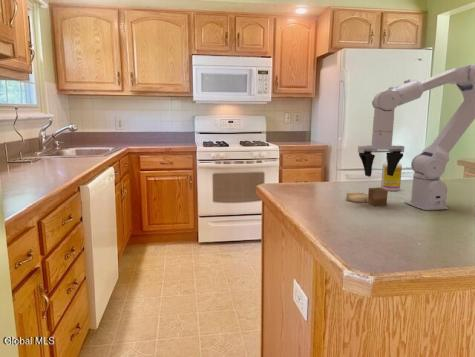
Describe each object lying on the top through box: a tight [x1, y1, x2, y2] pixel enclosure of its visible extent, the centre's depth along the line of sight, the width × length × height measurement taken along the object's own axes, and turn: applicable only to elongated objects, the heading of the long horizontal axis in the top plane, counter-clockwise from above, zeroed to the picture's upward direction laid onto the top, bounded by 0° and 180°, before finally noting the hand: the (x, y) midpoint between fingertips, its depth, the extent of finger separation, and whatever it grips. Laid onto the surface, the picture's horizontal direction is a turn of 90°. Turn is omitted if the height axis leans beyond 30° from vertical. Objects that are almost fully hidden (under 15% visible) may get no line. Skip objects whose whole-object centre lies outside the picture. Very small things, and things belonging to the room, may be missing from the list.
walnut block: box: [367, 187, 388, 207], centre depth 110 cm, size 4×4×5 cm
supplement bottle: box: [380, 155, 403, 192], centre depth 133 cm, size 7×7×13 cm
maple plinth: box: [345, 191, 368, 204], centre depth 116 cm, size 7×7×2 cm
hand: (379, 175), depth 109 cm, fingers open, 7 cm apart
